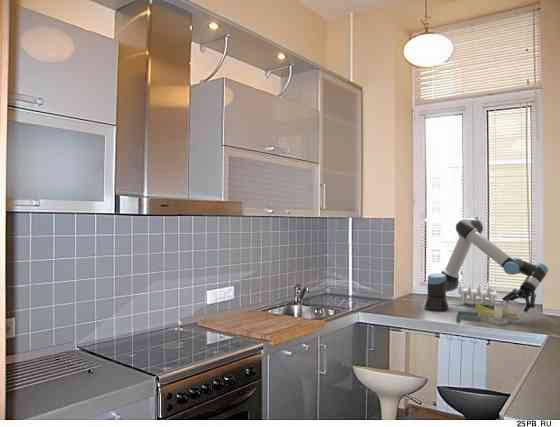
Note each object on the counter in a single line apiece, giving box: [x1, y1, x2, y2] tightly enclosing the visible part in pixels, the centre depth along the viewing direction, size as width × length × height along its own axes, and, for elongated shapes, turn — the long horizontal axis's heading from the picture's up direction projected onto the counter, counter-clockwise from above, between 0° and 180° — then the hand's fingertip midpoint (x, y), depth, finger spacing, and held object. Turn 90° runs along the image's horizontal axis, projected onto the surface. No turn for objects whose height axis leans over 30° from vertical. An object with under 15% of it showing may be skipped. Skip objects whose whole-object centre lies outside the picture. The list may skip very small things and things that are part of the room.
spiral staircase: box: [457, 278, 498, 308], centre depth 319 cm, size 18×18×25 cm
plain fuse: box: [493, 300, 504, 321], centre depth 259 cm, size 5×5×12 cm
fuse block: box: [486, 317, 524, 327], centre depth 261 cm, size 20×9×4 cm, turn 111°
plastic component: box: [474, 302, 508, 318], centre depth 284 cm, size 20×7×10 cm
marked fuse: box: [507, 300, 519, 320], centre depth 263 cm, size 5×5×12 cm
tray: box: [456, 310, 480, 323], centre depth 272 cm, size 12×12×4 cm
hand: (510, 312), depth 263 cm, fingers open, 13 cm apart
